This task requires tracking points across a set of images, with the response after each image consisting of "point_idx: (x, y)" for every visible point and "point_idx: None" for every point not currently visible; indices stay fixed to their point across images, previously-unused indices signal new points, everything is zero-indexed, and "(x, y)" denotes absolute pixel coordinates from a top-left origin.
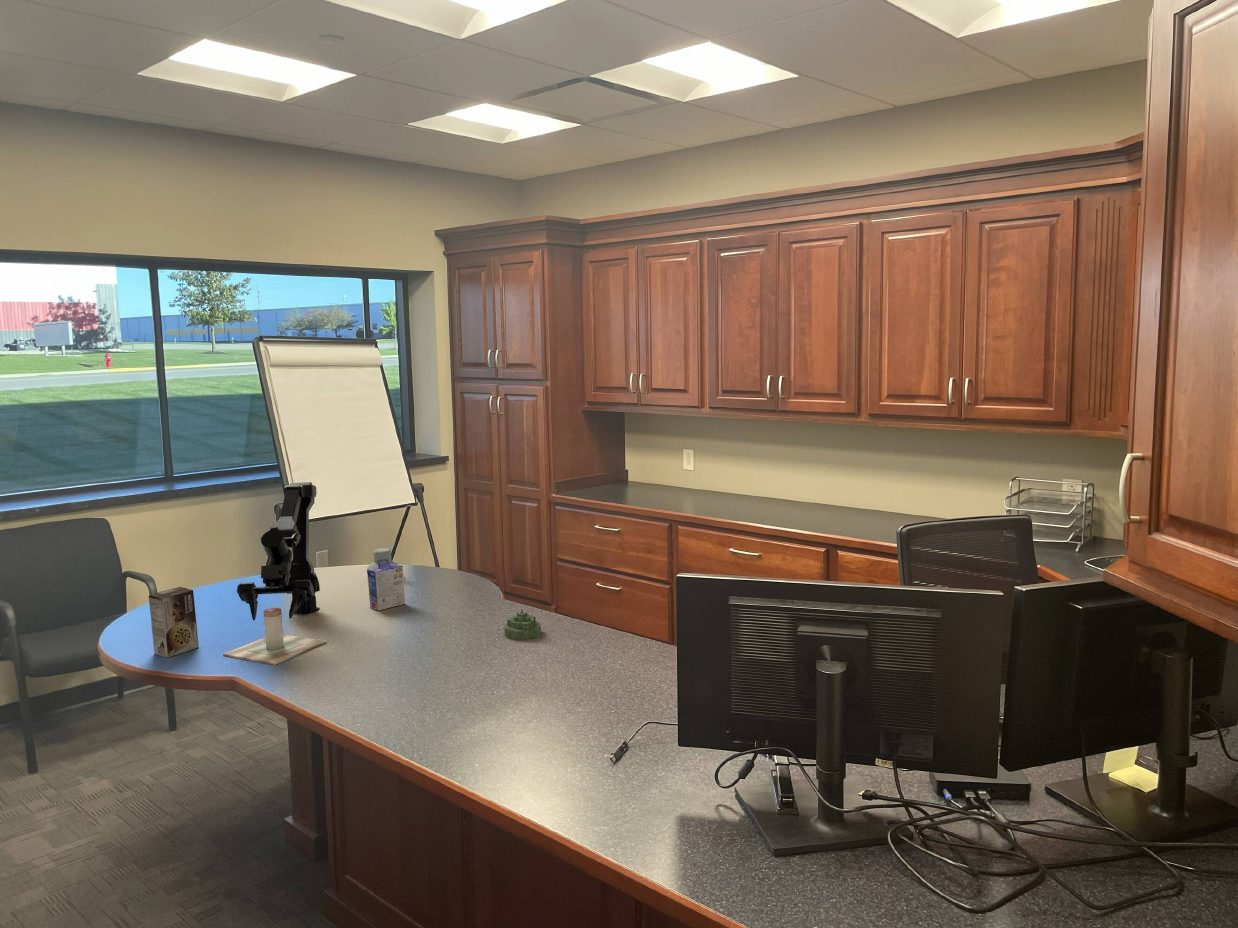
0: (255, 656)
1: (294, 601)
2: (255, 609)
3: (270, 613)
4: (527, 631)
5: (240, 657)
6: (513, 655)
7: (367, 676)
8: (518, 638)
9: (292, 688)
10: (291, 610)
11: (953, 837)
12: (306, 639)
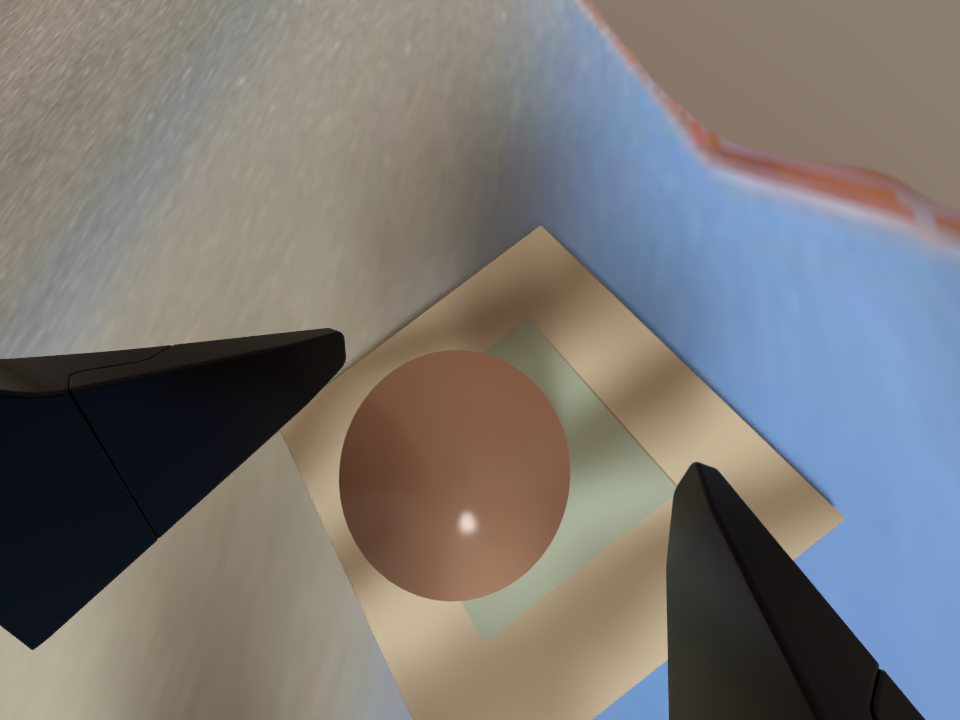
0: (624, 357)
1: (124, 357)
2: (706, 660)
3: (490, 360)
4: None
5: (710, 392)
6: (17, 89)
7: (308, 50)
8: None
9: (512, 15)
10: (272, 339)
11: None
12: (338, 510)
